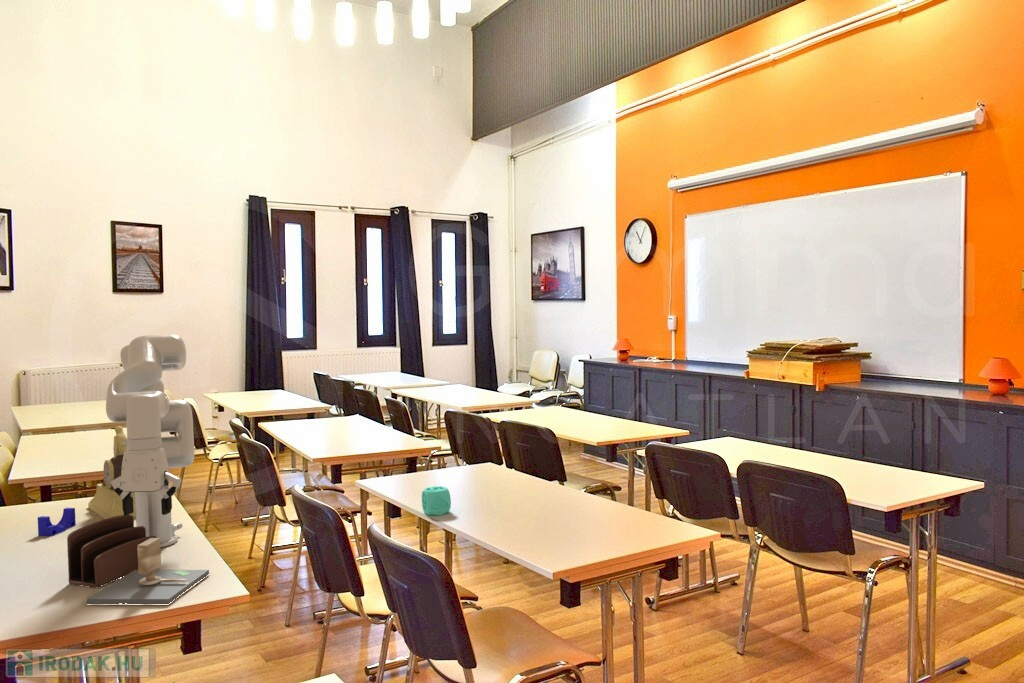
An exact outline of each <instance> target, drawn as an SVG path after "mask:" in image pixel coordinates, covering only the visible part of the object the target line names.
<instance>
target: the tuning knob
mask: <svg viewBox="0 0 1024 683" xmlns="http://www.w3.org/2000/svg"><path fill="white" fill-rule="evenodd" d="M161 548H162V547H160V538H150V539H148V540H146V541H145V542H143V543H141V544H139V545H137V549H138V572H139V574H146V577H145V578H142V579H141V580H139V584H140V585H153V584H156V583H159V582H186V581H187V580H186V579H162V577H161V576H155V570H158V568H160V567H161V566H162V552H161V550H162V549H161Z"/></svg>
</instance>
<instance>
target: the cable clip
mask: <svg viewBox="0 0 1024 683" xmlns="http://www.w3.org/2000/svg"><path fill="white" fill-rule="evenodd" d="M62 511H63V512H62V516H61V518H60V520H59V521H58V523H56V524H53V523H52V521H51V517H50V516H46V515H45V516H43V515H41V516H38V517H37V535H38V537H53V536H55V535H58V534H61V533H64V532H65V531H66V530H67V529H70V528H73V527H75V526H76V525H77V524H76V522H77V521H76V508H75V507H65V508H63V510H62Z"/></svg>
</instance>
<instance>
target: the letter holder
mask: <svg viewBox="0 0 1024 683" xmlns="http://www.w3.org/2000/svg"><path fill="white" fill-rule="evenodd" d="M134 519H135V518H133V516H132V515H126V516H124V515H122V516H116V517H112V518H108V519H104V518H103V519H101V520H98V521H94V522H92V523H89V524H87V525H85V526H82V527H80V528H77V529H76V530H73V531H72V532H70V533H69V534H68V535H67V539H66V542H67V565H68V566H67V567H68V584H69V585H72V584H75V585H74V586H79V585H83V586H82V587H85V586H89V587H88V588H92V587H98V588H100V587H102V586H101V585H103V586H105V585H104V584H106V583H108V584H110V583H109V582H111V581H113V580H116V579H118V578H120V577H123V576H126V575H127V574H129V573H131V572H132V571H134V570H138V549H137V545H139V544H141V543H143V542H145V541H146V540H148V539H150V538H157V537H156V536H150V537H146V529H145V527H144V526H138V527H136V526H135V520H134ZM118 580H119V579H118ZM116 581H117V580H116ZM113 582H114V581H113ZM111 583H112V582H111ZM106 585H107V584H106ZM99 586H100V587H99Z"/></svg>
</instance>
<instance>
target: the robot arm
mask: <svg viewBox="0 0 1024 683" xmlns="http://www.w3.org/2000/svg"><path fill="white" fill-rule="evenodd" d="M119 355H120V356H119V358H120V361H121V365H122V369H123V371H122V372H119V374H117V375H116V376H115V377H114V378H113V379H111V381H110V383H109V384H108V386H107V391H106V400H105V414H106V416H107V418H108V420H109V421H111V422H112V423H118V424H121V423H126V438H127V440H124V441H123V445H124V446H127V449H128V451H125V452H124V456H123V461H122V471H121V476H120V477H118V478H116V479H114V480H113V481H111V484H112V486H113V488H114V489H115V492H116V493H117V494H118V495H119V496H120V499H122V507H123V512H124V516H126V515H129V514H131V513H133V512H134V509H133V497H131V494H132V493H133V492H135V506H136V518H135V522H136V523H135V524H136V526H135V527H138V526H144V527H145V529H146V537H150V536H156V537H157V538H160V547H161V548H164V547H168V546H171V545H173V544H175V543H177V542H178V539H179V537H178V536H179V535H177V534H175V532H176V531H178V530H181V529H182V528H183V523H182V522H178V523H177V522H176V523H172V509H173V502H172V499H173V498H172V497H173V496H174V494H175V493H176V492H177V491H178V490H179V487H180V485H181V483H182V479H181V478H180V477H178V476H177V475H174V474H172V473H170V472H169V471H170V470H169V469H177V468H186V467H189V466H191V465H192V464H193V462H194V461H195V436H194V418H193V410H192V407H191V404H190V403H189V401H187V400H185V399H171V400H170V399H169V397H168V396H167V395H166V394H165V385H164V382H163V381H162V380H161V379H162V377H163V376H162V375H163V372H171V371H180V370H182V369H184V368H185V365H186V362H187V348H186V344H185V341H184V340H183V338H182V337H181V336H179V335H176V334H162V335H161V334H158V335H141V336H137V337H135V338H133V339H132V340H131V341H130V342H129V344H127V345H125V346H123V347H122V348H121V350H120V354H119ZM173 432H174V433H175V434H177V435H174V436H173V435H171V436H164V437H163V436H162V434H163V433H173ZM170 482H171V483H172V484H170ZM120 483H121V485H120Z"/></svg>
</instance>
